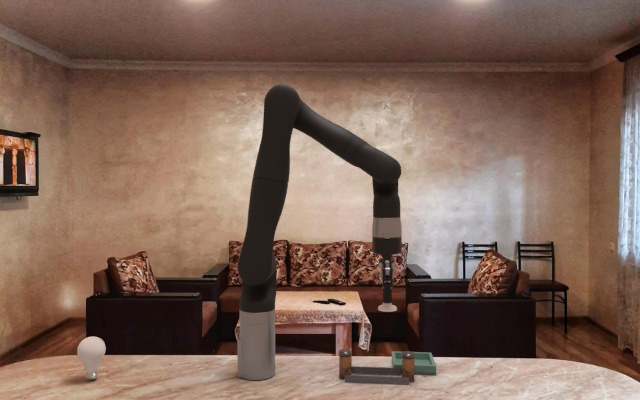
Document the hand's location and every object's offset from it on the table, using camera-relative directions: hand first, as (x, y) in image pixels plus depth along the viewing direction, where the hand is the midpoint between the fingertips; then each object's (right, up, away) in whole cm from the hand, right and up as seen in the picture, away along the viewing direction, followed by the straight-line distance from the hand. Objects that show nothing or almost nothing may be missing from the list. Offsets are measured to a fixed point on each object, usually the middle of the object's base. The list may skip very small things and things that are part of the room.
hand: (387, 301), depth 135 cm
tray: (+8, -19, +7) cm, 22 cm away
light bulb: (-75, -20, -2) cm, 78 cm away
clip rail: (-3, -20, -1) cm, 20 cm away
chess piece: (0, -2, 0) cm, 2 cm away
